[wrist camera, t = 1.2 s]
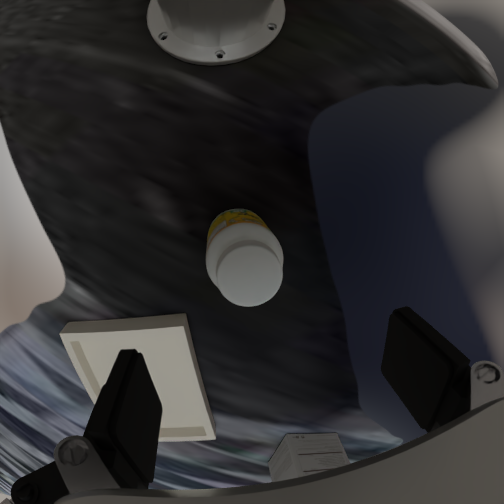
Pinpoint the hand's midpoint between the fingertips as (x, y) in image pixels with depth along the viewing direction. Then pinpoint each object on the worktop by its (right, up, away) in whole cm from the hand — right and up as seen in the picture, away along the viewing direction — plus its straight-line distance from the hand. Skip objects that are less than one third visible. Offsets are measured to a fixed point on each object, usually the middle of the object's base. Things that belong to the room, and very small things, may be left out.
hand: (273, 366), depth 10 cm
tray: (-13, -11, +20) cm, 27 cm away
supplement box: (+7, -27, +28) cm, 40 cm away
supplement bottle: (-2, +6, +17) cm, 18 cm away
